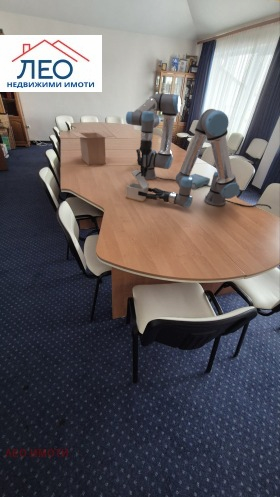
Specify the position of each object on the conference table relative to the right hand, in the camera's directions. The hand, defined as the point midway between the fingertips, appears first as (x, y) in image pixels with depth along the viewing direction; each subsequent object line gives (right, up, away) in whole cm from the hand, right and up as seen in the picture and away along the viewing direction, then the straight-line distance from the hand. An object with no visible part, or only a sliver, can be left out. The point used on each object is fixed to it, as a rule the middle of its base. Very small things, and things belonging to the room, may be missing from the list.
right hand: (141, 190), depth 163 cm
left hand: (+2, +9, -7) cm, 11 cm away
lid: (-1, +7, -4) cm, 8 cm away
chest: (-3, -4, +5) cm, 7 cm away
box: (-51, +51, +74) cm, 104 cm away
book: (+48, +15, +36) cm, 62 cm away
